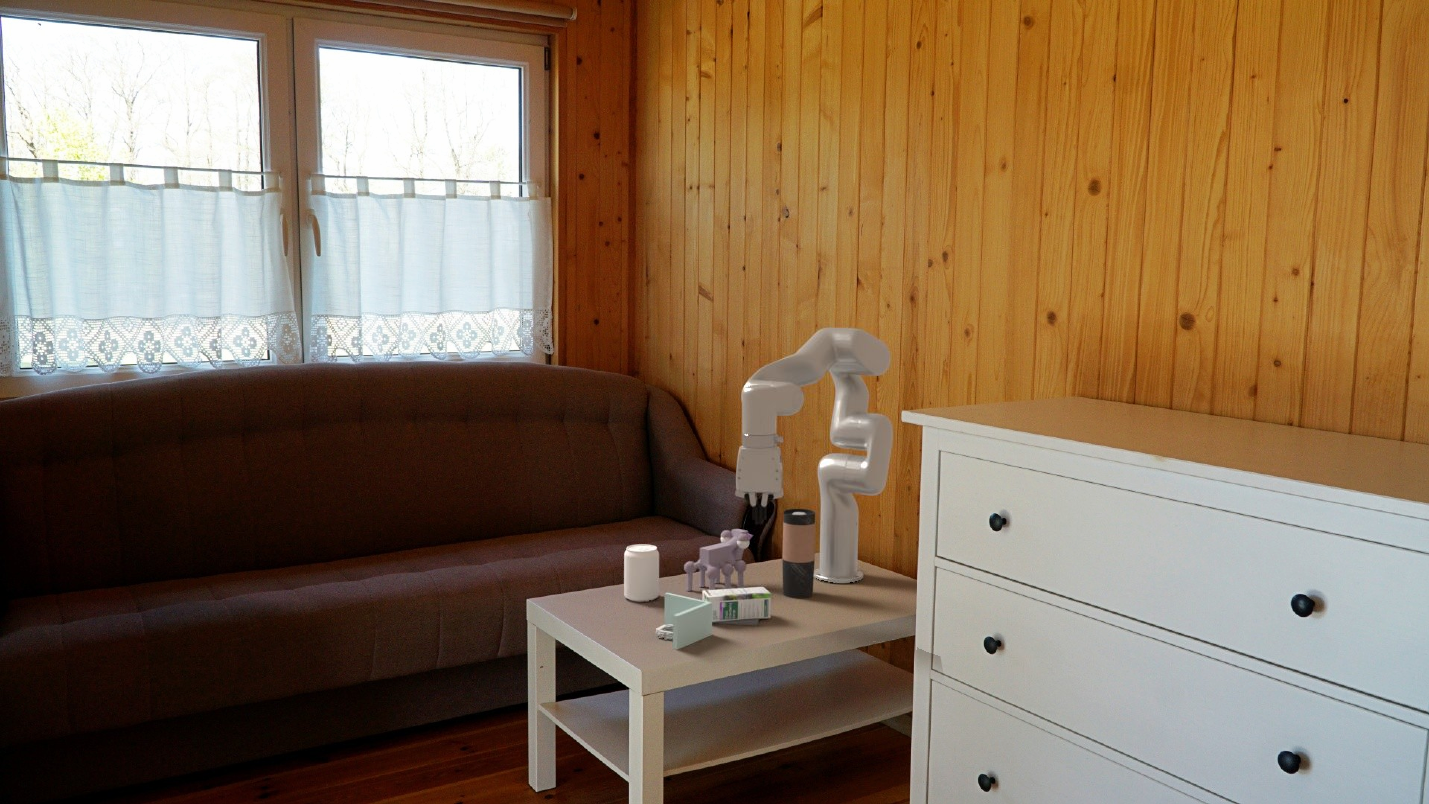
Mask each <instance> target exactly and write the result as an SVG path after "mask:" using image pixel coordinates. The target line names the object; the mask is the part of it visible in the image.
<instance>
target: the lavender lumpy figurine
mask: <svg viewBox="0 0 1429 804" xmlns="http://www.w3.org/2000/svg"><path fill="white" fill-rule="evenodd" d="M753 536H754V535H753V534H750V533H749V531H748V530H745V529H740V528H734V529H731V531H730V530H729V529H728V530H726V529H725V530H723V531H722V532H721V533H720V543H717V544H715V543H714V544H712V545H708V546H707V545H706V546H702V547H699V559H698V560H697V561H696V562H694V561H692V560H691V561H690V560H689V561H687V562H685V564H684V565H683V570H684V572H686V591H687V592H688V591H689V592H690V591H691V592H692V591H693V575H694V573H695V572H696V571H697V569H698V570H699V586H698V587H700V588H706V577H707V579H708V587H709V588H708V590H716V584H720V583H721V573H722V575H723V576H724V589H732V587H731V586H732V585H731V581H732V579H731V577H732V575H733V574H734V571H735V572H737V588H744V572H745V571H746V570H747V563H746V562H745V561H744V560H742V559H743V554H744V550H746V549H747V548H748V547H749V545H750V540H751V539H752V537H753Z"/></svg>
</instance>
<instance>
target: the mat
mask: <svg viewBox="0 0 1429 804" xmlns="http://www.w3.org/2000/svg"><path fill="white" fill-rule="evenodd" d="M697 599H698V600H703V598H697ZM759 620H760V619H744V620H731V621H718V622H712V624H720V625H721V624H723V625H737V626H738V625H739V626H740V625H742V626H754V627H755V626H758V624H759Z"/></svg>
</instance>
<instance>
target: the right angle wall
mask: <svg viewBox="0 0 1429 804" xmlns="http://www.w3.org/2000/svg"><path fill="white" fill-rule="evenodd" d="M698 599H699V598H693V597H688V596H684V595H679V594H674V593H671V592H665V593H664V614H663V615H664V618H663V619H664V623H663V624H662V625H661V626H658V627H656V628H655V635H656V636H657V637H658V636H659V637H658V639H659V638H664V639H663V640H665V641H666V640H667V639H669V640H670V641H671V640H672V650H680V649H682V648H684V647H687V646H689V645H691V644H694V643H696V642H698V641H700V640H703V639H705V638H707V637H708V638H709V637H710V636H712V635H713V623H712V602H707V601H703V600H698ZM669 640H667V641H669Z"/></svg>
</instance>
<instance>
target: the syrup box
mask: <svg viewBox="0 0 1429 804" xmlns="http://www.w3.org/2000/svg"><path fill="white" fill-rule="evenodd" d="M702 599H703V601H707V602H712V622H718V621H731V620H744V619H759V620H760V619H770V618H771V617H772V615H771V609H772V608H771V607H772V593H771V592H770V591H769V590H768V589H766V588H765V587H764V586H756V587H755V586H754V587H743V588H738V587H737V588H731V589H725V588H723V589H722V588H721V589H715V590H709V589H706V590H705V589H703V590H702Z"/></svg>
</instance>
